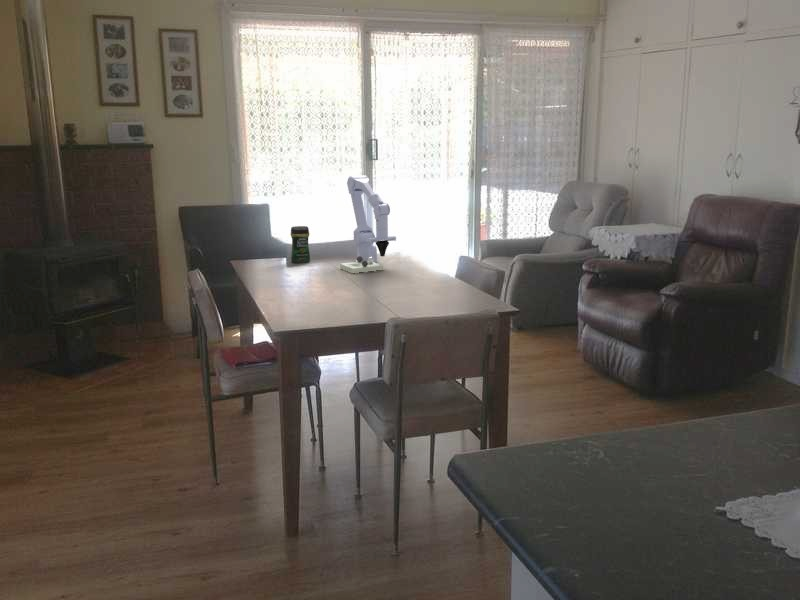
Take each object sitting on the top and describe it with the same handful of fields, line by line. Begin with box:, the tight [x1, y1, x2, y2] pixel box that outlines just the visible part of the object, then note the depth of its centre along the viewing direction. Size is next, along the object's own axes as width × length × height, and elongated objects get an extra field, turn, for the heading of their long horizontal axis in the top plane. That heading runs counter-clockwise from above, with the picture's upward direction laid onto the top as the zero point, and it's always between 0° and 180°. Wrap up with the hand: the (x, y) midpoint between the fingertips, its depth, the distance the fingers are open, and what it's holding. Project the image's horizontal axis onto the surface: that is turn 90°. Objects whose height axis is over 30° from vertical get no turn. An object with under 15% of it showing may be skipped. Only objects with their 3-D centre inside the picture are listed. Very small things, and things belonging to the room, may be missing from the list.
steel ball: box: [367, 257, 374, 264], centre depth 356 cm, size 3×3×3 cm
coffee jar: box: [290, 225, 311, 264], centre depth 374 cm, size 10×8×19 cm
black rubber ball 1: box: [356, 255, 363, 262], centre depth 359 cm, size 3×3×3 cm
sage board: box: [339, 261, 384, 274], centre depth 354 cm, size 16×15×2 cm
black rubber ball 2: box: [362, 260, 368, 267], centre depth 348 cm, size 3×3×3 cm
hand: (382, 256), depth 358 cm, fingers closed
